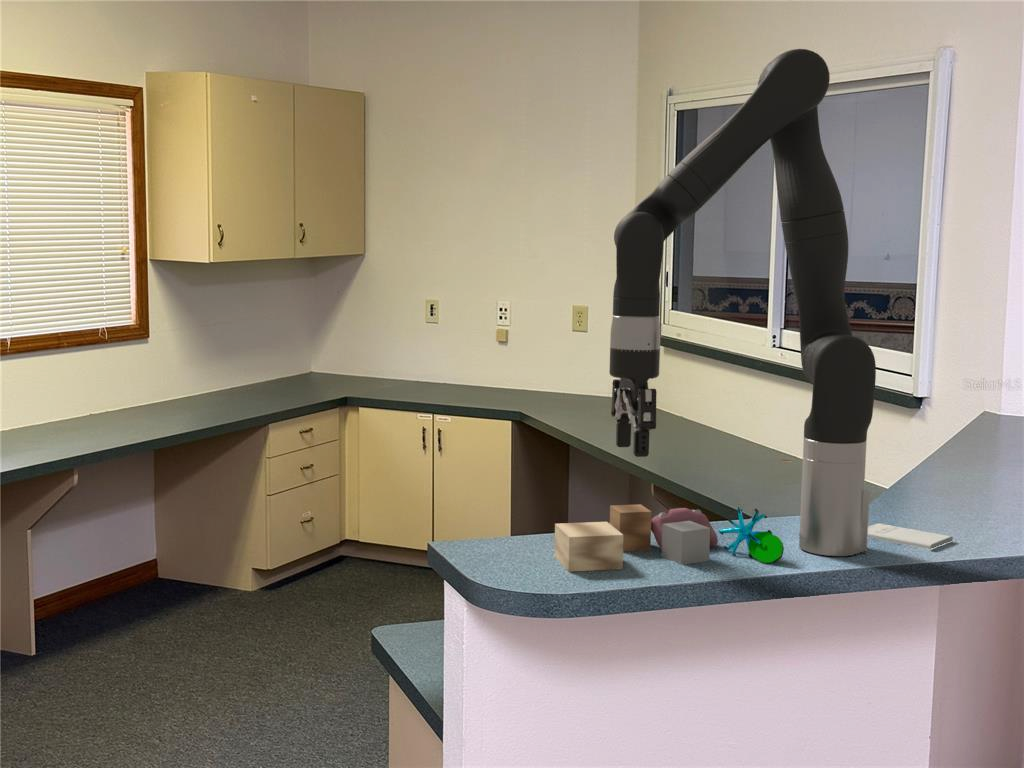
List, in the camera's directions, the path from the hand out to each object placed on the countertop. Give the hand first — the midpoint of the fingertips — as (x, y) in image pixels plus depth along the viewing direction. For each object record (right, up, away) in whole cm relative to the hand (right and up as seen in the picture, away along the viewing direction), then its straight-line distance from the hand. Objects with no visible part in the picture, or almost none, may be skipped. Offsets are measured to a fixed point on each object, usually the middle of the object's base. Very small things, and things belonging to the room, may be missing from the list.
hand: (631, 451), depth 170 cm
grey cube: (+7, -16, -5) cm, 18 cm away
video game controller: (+8, -15, +2) cm, 17 cm away
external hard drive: (+44, -15, +8) cm, 48 cm away
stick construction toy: (+19, -16, -2) cm, 25 cm away
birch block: (-7, -16, -8) cm, 19 cm away
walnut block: (0, -15, +2) cm, 15 cm away
